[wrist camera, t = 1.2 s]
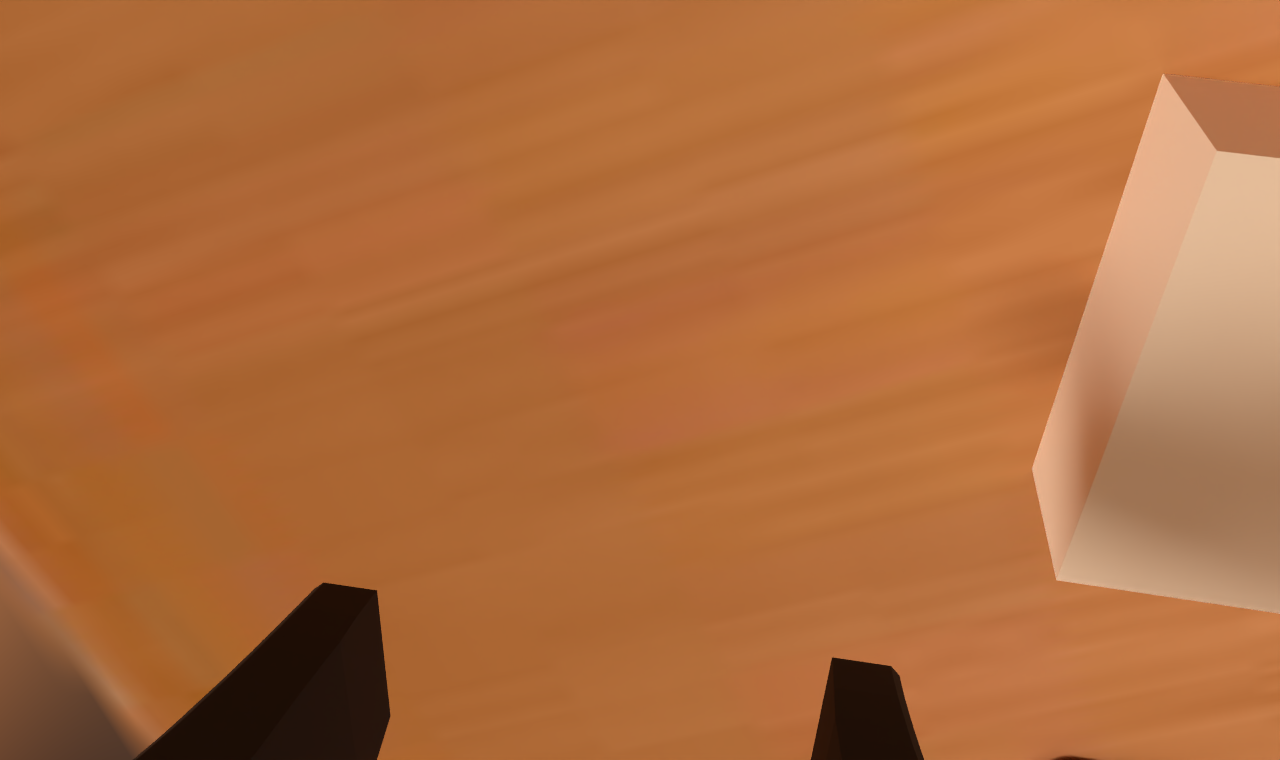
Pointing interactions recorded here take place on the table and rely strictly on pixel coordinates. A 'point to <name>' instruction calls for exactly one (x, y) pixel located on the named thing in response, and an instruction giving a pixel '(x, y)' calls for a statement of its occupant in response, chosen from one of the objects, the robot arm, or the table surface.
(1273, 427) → the wooden block
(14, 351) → the table surface
